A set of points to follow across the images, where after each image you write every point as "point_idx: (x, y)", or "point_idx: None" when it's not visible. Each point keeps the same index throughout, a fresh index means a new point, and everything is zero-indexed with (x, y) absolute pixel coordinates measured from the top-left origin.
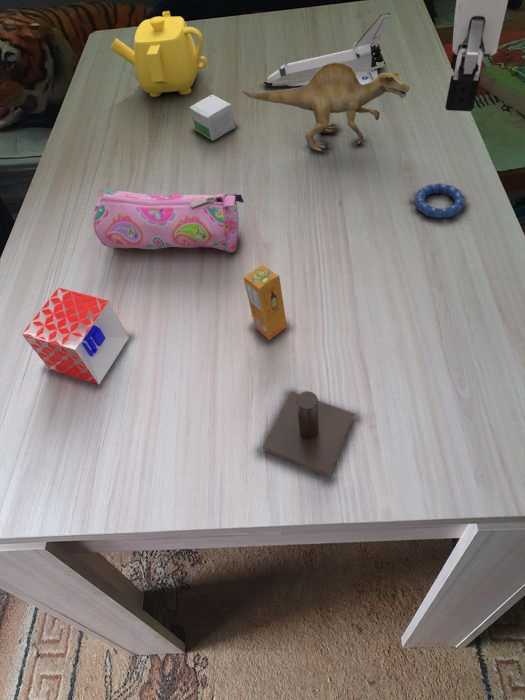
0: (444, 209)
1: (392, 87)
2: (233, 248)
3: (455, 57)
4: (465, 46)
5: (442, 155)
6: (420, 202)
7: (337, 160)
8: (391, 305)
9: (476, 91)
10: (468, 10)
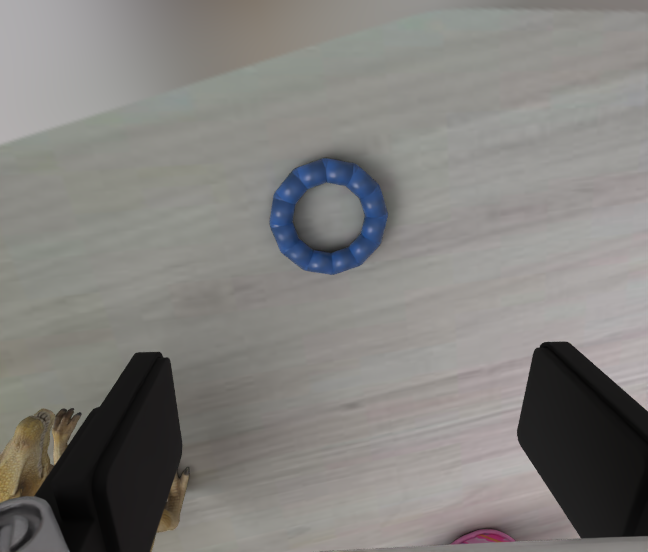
0: (375, 208)
1: (40, 463)
2: (498, 536)
3: (164, 489)
4: (139, 512)
5: (129, 223)
6: (354, 263)
7: (209, 437)
8: (631, 275)
9: (628, 399)
10: None
